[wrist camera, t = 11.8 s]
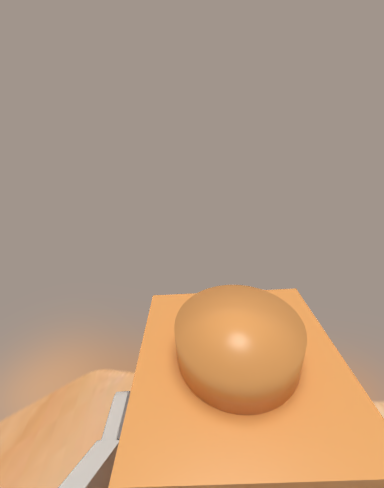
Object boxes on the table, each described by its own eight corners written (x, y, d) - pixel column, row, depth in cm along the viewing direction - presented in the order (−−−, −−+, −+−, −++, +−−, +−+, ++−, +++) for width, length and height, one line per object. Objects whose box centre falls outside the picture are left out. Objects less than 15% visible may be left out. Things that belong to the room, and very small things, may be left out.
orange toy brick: (160, 606, 8) (93, 456, 4) (172, 420, 14) (149, 271, 10) (331, 603, 8) (449, 443, 4) (275, 416, 14) (299, 263, 9)
